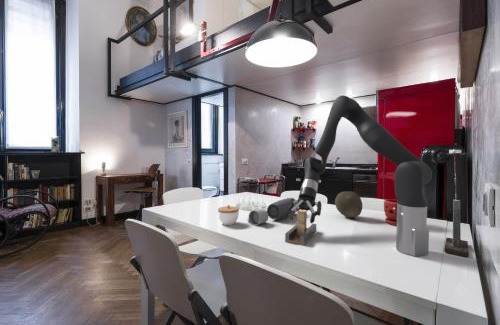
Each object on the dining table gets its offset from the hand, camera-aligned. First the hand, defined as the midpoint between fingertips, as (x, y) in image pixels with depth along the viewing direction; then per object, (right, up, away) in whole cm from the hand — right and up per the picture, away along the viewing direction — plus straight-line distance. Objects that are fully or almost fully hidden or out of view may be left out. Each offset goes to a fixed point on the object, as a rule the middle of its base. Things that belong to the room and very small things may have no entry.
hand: (301, 221), depth 106 cm
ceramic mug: (-19, -7, +21) cm, 29 cm away
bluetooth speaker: (-3, -6, +34) cm, 35 cm away
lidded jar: (-33, -6, +21) cm, 40 cm away
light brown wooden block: (0, -6, +1) cm, 6 cm away
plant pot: (+54, -7, +21) cm, 59 cm away
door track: (0, -7, +1) cm, 7 cm away
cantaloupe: (+34, -6, +33) cm, 48 cm away
